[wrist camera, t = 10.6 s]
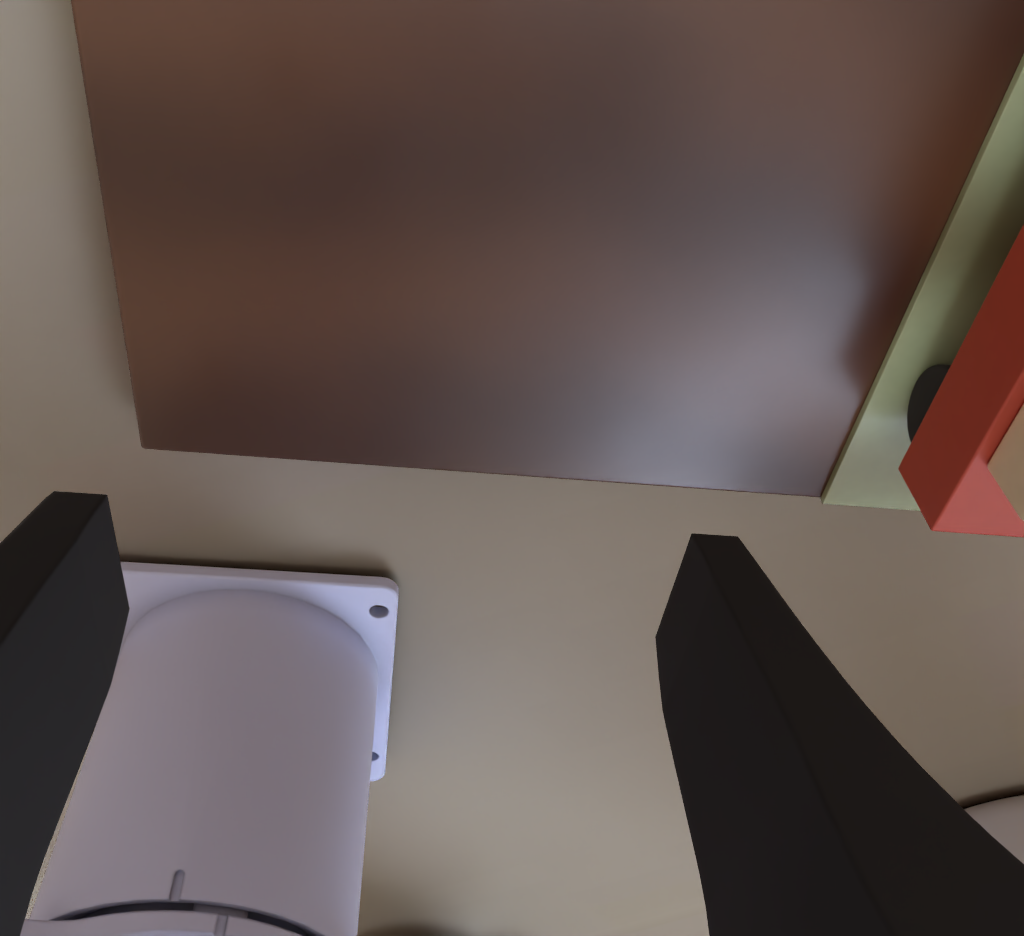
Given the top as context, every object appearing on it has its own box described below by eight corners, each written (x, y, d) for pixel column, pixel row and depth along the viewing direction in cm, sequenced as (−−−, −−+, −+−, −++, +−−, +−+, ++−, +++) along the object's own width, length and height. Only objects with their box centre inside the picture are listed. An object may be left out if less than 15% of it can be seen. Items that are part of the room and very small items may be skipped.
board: (1029, 488, 24) (1051, 520, 24) (151, 422, 22) (138, 455, 21) (1392, -76, 16) (1448, -61, 15) (48, -285, 14) (18, -281, 13)
